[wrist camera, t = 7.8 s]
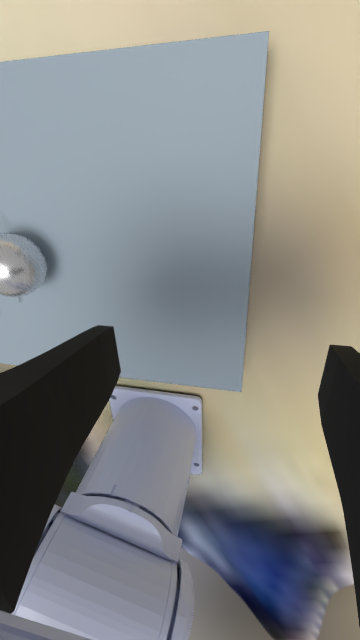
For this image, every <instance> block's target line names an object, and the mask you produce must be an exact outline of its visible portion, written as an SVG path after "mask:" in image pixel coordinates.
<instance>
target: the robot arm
mask: <svg viewBox="0 0 360 640" xmlns="http://www.w3.org/2000/svg"><path fill="white" fill-rule="evenodd" d="M120 373H121V368H120V362H119V356H118V350H117V344H116V338H115V332H114V326H103V325H97V326H95V327H92V328H90V329H88V330H86V331H84V332H82V333H80V334H78V335H76V336H75V337H73V338H71V339H69V340H67V341H65V342H63V343H62V344H60V345H58V346H56V347H54V348H52V349H50V350H49V351H47V352H45V353H43V354H41V355H39V356H37V357H34V358H32V359H30V360H28V361H26V362H24V363H22V364H20V365H18V366H16V367H14V368H12V369H9V370H7V371H5V372H2V373H0V640H189V637H190V632H191V625H192V619H193V609H194V584H193V580H192V577H191V574H190V569H189V566H188V564H187V563H186V561H183V560H181V559H179V554H180V550H181V544H182V539H180V538H178V537H177V535H178V532H179V527H180V522H181V517H182V512H183V508H184V503H185V498H186V493H187V489H188V484H189V479H190V474H196V475H200V474H201V473H202V400H201V398H200V397H198V396H192V395H184V394H176V393H168V392H160V391H153V390H145V389H137V388H129V387H121V386H116V384H117V381H118V378H119V376H120ZM114 395H115V396H114ZM318 399H319V408H320V416H321V424H322V428H323V432H324V436H325V440H326V444H327V447H328V451H329V455H330V459H331V463H332V466H333V470H334V474H335V478H336V482H337V485H338V489H339V493H340V497H341V502H342V507H343V512H344V518H345V524H346V530H347V537H348V543H349V550H350V557H351V564H352V571H353V578H354V585H355V593H356V601H357V608H358V617H359V626H360V353H358V352H357V351H356V350H355V349H354V348H353V347H351V346H339V345H330V346H329V350H328V355H327V359H326V363H325V367H324V371H323V376H322V380H321V384H320V388H319V393H318ZM108 401H109V402H110V407H111V412H112V417H113V422H112V424H111V426H110V428H109V430H108V432H107V434H106V436H105V437H104V439H103V441H102V443H101V445H100V447H99V449H98V451H97V453H96V455H95V457H94V458H93V460H92V462H91V464H90V466H89V468H88V470H87V472H86V474H85V476H84V477H83V479H82V481H81V483H80V485H79V487H78V489H77V491H76V493H74V492H71V493H70V495H69V497H68V498H67V500H66V502H65V504H64V506H63V508H62V507H59V506H57V505H55V502H56V500H57V497H58V495H59V493H60V490H61V488H62V486H63V484H64V482H65V479H66V477H67V475H68V473H69V471H70V468H71V466H72V464H73V462H74V460H75V458H76V456H77V454H78V452H79V450H80V449H81V447H82V445H83V443H84V442H85V440H86V438H87V437H88V435H89V433H90V432H91V430H92V428H93V426H94V425H95V423H96V421H97V420H98V418H99V416H100V415H101V413H102V411H103V409H104V408H105V406H106V404H107V402H108ZM194 406H197V407H194ZM61 508H62V510H61Z"/></svg>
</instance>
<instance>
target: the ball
mask: <svg viewBox="0 0 360 640" xmlns="http://www.w3.org/2000/svg"><path fill="white" fill-rule="evenodd" d="M46 274H47V262H46V258H45V256H44V254H43V252H42V251H41V249H40V248H39V247H38V246H37V245H36V244H35V243H34V242H33V241H31V240H30V239H28V238H26V237H23V236H20V235H16V234H1V235H0V295H3V296H6V297H22V296H26V295H29V294H31V293H33V292H34V291H36V290H37V289H38V288H39V287H40V286H41V285H42V283H43V282H44V280H45V277H46Z"/></svg>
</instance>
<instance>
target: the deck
mask: <svg viewBox="0 0 360 640" xmlns="http://www.w3.org/2000/svg"><path fill="white" fill-rule="evenodd" d="M268 37H269V31H266V32H257V33H248V34H240V35H231V36H222V37H214V38H205V39H196V40H187V41H179V42H170V43H161V44H153V45H144V46H135V47H126V48H118V49H109V50H100V51H92V52H83V53H74V54H66V55H57V56H48V57H39V58H31V59H22V60H13V61H5V62H0V235H1V234H16V235H20V236H23V237H26V238H28V239H30V240H31V241H33V242H34V243H35V244H36V245H37V246H38V247H39V248H40V249H41V251H42V252H43V254H44V256H45V258H46V262H47V274H46V277H45V280H44V282H43V283H42V285H41V286H40V287H39V288H38V289H37V290H36V291H34V292H33V293H31V294H29V295H26V296H22V297H6V296H3V295H0V363H4V364H12V365H20V364H22V363H24V362H26V361H28V360H30V359H32V358H34V357H37V356H39V355H41V354H43V353H45V352H47V351H49V350H50V349H52V348H54V347H56V346H58V345H60V344H62V343H63V342H65V341H67V340H69V339H71V338H73V337H75V336H76V335H78V334H80V333H82V332H84V331H86V330H88V329H90V328H92V327H95V326H97V325H103V326H114V332H115V338H116V344H117V350H118V356H119V362H120V368H121V373H120V376H119V377H120V378H128V379H136V380H145V381H153V382H161V383H169V384H178V385H186V386H194V387H203V388H211V389H219V390H227V391H236V392H241V391H242V378H243V364H244V351H245V338H246V325H247V312H248V299H249V286H250V273H251V260H252V246H253V233H254V220H255V207H256V194H257V181H258V168H259V155H260V142H261V128H262V115H263V102H264V89H265V76H266V63H267V50H268Z"/></svg>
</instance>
